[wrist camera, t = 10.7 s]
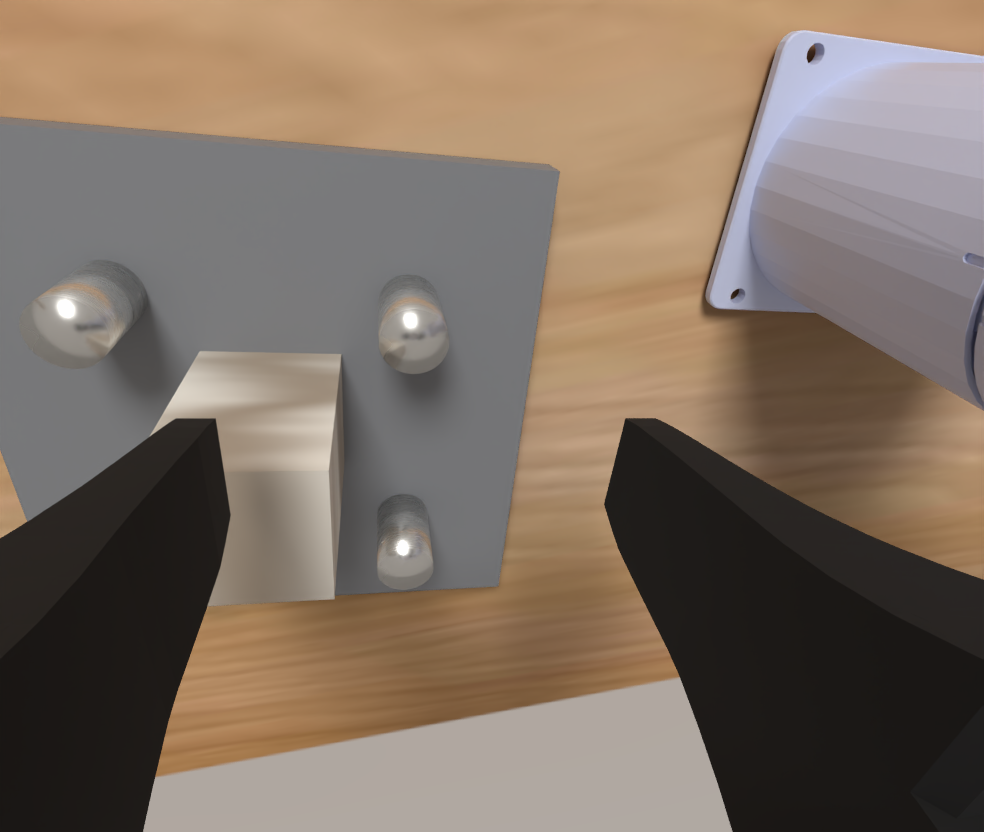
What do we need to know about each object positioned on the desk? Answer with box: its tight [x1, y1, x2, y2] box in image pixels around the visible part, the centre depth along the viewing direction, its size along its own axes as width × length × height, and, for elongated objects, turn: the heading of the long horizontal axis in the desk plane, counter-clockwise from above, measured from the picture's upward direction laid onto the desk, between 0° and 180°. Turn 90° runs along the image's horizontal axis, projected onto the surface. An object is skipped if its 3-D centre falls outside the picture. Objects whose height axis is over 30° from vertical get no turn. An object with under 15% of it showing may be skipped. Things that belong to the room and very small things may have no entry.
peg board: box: [0, 117, 560, 595], centre depth 18 cm, size 16×16×4 cm
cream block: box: [150, 351, 344, 606], centre depth 16 cm, size 4×4×6 cm
